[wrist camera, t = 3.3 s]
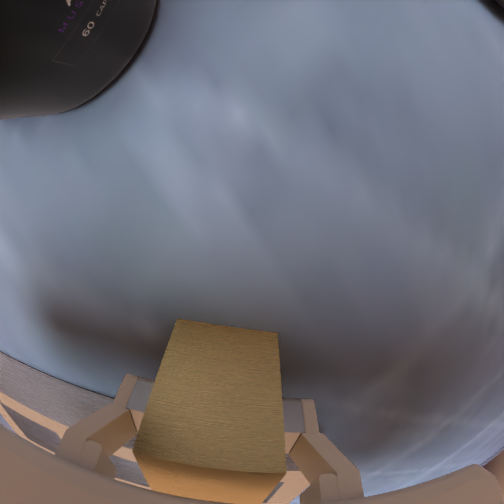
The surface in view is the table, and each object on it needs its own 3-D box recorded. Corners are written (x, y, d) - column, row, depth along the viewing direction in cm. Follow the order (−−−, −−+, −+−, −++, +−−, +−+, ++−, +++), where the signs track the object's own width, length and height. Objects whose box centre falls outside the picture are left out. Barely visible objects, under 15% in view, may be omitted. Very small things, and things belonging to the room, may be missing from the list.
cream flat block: (318, 427, 14) (324, 469, 12) (281, 478, 18) (282, 508, 15) (-7, 347, 13) (-27, 373, 10) (35, 419, 17) (23, 441, 14)
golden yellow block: (277, 332, 11) (286, 473, 6) (260, 392, 13) (259, 505, 7) (177, 318, 11) (132, 451, 6) (178, 380, 13) (151, 490, 7)
